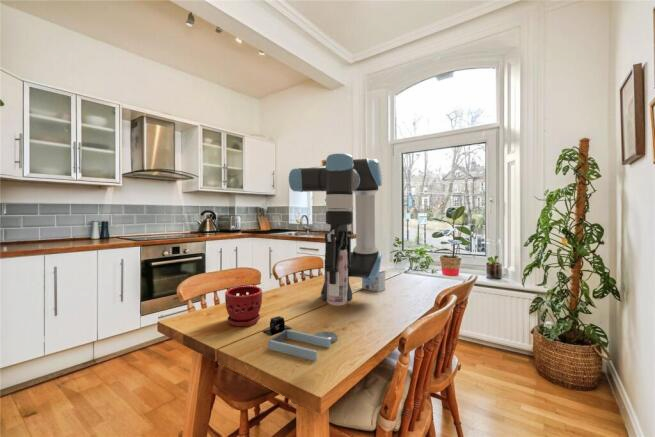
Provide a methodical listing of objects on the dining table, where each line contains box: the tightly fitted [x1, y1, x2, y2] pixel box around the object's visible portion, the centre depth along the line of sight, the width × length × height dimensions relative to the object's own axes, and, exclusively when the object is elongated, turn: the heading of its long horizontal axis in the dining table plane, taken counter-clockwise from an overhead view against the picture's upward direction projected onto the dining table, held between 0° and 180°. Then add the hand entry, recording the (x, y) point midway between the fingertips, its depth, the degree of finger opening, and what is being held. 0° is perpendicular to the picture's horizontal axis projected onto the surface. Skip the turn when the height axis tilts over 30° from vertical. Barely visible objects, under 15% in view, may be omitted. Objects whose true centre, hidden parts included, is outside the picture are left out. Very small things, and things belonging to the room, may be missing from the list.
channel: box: [267, 329, 331, 362], centre depth 89 cm, size 10×16×2 cm, turn 64°
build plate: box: [261, 315, 293, 337], centre depth 103 cm, size 12×7×5 cm, turn 136°
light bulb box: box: [361, 268, 386, 293], centre depth 158 cm, size 11×7×11 cm, turn 50°
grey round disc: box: [313, 331, 339, 344], centre depth 96 cm, size 8×8×1 cm
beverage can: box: [326, 249, 348, 306], centre depth 84 cm, size 6×6×15 cm
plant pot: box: [224, 285, 263, 327], centre depth 109 cm, size 13×13×12 cm
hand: (338, 292), depth 84 cm, fingers closed on beverage can, 6 cm apart
